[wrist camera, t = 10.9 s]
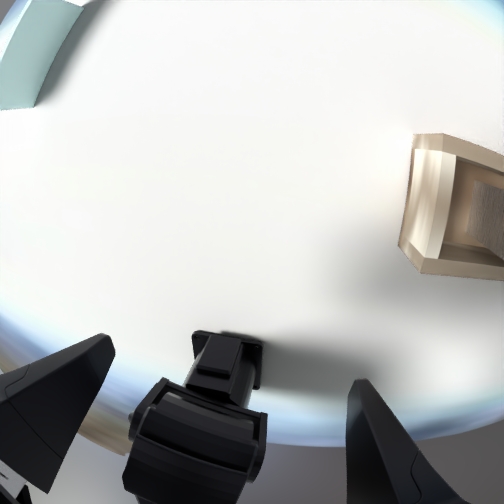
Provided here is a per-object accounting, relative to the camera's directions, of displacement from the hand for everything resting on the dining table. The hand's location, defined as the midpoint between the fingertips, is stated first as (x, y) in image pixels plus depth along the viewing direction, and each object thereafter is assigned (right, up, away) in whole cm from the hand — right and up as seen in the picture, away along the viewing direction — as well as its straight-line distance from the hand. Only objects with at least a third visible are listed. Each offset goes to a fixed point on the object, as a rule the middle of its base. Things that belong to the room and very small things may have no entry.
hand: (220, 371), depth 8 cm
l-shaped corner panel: (-23, +28, +7) cm, 37 cm away
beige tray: (+19, +7, +6) cm, 21 cm away
